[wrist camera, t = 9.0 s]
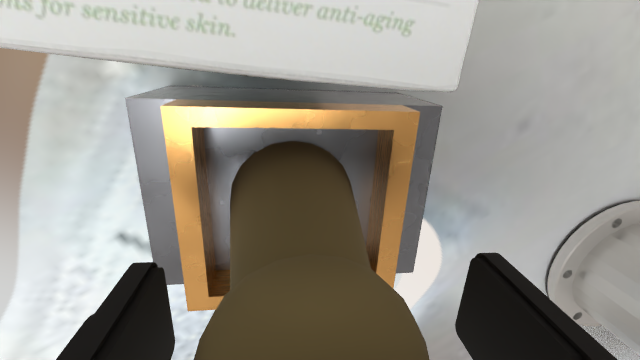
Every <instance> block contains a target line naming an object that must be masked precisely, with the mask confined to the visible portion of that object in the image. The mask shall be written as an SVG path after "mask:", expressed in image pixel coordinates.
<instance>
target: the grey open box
mask: <svg viewBox="0 0 640 360" xmlns="http://www.w3.org/2000/svg"><path fill="white" fill-rule="evenodd" d="M125 99H126V105H127V111H128V117H129V123H130V129H131V134H132V140H133V146H134V152H135V158H136V164H137V170H138V175H139V181H140V187H141V193H142V199H143V205H144V211H145V216H146V222H147V228H148V234H149V240H150V246H151V251H152V257H153V262H155V263H156V264H157V265H158V267H162V268H163V269H164V272H165V278H166V285H173V284H184V286H185V293H186V301H187V308H188V311H199V310H215V309H217V307H218V305H219V304H220V302H221V301H222V299H223V297H224V296H225V295H226V294H227V293H228V292H229V291H230V197H231V187H232V182H233V180H234V178H235V176H236V174H237V172H238V170H239V168H240V166H241V165H242V164H243V163H244V162H245V161H246V160H247V159H248V158H249V157H250V156H251V155H252V154H253V153H255V152H257V151H259V150H261V149H263V148H265V147H267V146H269V145H271V144H274V143H280V142H287V141H299V142H305V143H312V144H314V145H316V146H318V147H320V148H322V149H324V150H326V151H328V152H330V153H331V154H332V155H333V156H334V157H335V158H336V159H337V160H338V161H339V162H340V163H341V164H342V165H343V167H344V169H345V171H346V173H347V175H348V178H349V180H350V182H351V186H352V191H353V195H354V199H355V203H356V207H357V212H358V216H359V220H360V224H361V229H362V233H363V237H364V241H365V246H366V250H367V254H368V258H369V262H370V267H371V269H372V270H373V271H374V272H375V273H376V274H377V275H379V276H380V277H381V278H382V279H383V280H384V281H385V282H387V283H388V284H389V285H390V286H391V287H392V288H393V287H394V280H395V274H396V273H409V272H413V270H414V264H415V258H416V253H417V247H418V241H419V235H420V230H421V224H422V219H423V213H424V207H425V201H426V196H427V190H428V184H429V179H430V173H431V167H432V162H433V156H434V150H435V144H436V139H437V133H438V127H439V122H440V116H441V110H442V106H440V105H437V104H433V103H430V102H427V101H423V100H420V99H416V98H413V97H410V96H406V95H403V94H399V93H386V92H354V91H322V90H290V89H257V88H225V87H193V86H167V87H163V88H160V89H156V90H152V91H149V92H145V93H142V94H138V95H134V96H131V97H127V98H125Z"/></svg>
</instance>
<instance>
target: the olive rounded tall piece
mask: <svg viewBox="0 0 640 360" xmlns="http://www.w3.org/2000/svg"><path fill="white" fill-rule="evenodd" d="M194 360H429V355H428V351H427V347H426V342H425V340H424V338H423V336H422V334H421V332H420V329H419V327H418V325H417V323H416V321H415V319H414V317H413V315H412V313H411V312H410V310H409V308H408V306H407V304H406V303H405V301H404V299H403V298H402V297H401V296H400V295H399V294H398V293H397V292H396V291H395V290H394V289H393V288H392V287H391V286H390V285H389V284H388V283H387V282H385V281H384V280H383V279H382V278H381V277H380V276H379V275H377V274H376V273H375V272H374V271H373V270H372V269H371V267H370V262H369V258H368V254H367V250H366V246H365V241H364V237H363V233H362V229H361V224H360V220H359V216H358V212H357V207H356V203H355V199H354V195H353V191H352V186H351V182H350V180H349V178H348V175H347V173H346V171H345V169H344V167H343V165H342V164H341V163H340V162H339V161H338V160H337V159H336V158H335V157H334V156H333V155H332V154H331V153H330V152H328V151H326V150H324V149H322V148H320V147H318V146H316V145H314V144H312V143H305V142H299V141H287V142H280V143H274V144H271V145H269V146H267V147H265V148H263V149H261V150H259V151H257V152H255V153H253V154H252V155H251V156H250V157H249V158H248V159H247V160H246V161H245V162H244V163H243V164H242V165H241V166H240V168H239V170H238V172H237V174H236V176H235V178H234V180H233V182H232V187H231V197H230V291H229V292H228V293H227V294H226V295H225V296H224V297H223V299H222V301H221V302H220V304H219V305H218V307H217V309H216V310H215V312H214V314H213V316H212V317H211V319H210V321H209V323H208V325H207V327H206V329H205V330H204V332H203V334H202V336H201V338H200V340H199V344H198V347H197V351H196V354H195V358H194Z"/></svg>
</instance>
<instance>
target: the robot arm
mask: <svg viewBox="0 0 640 360" xmlns="http://www.w3.org/2000/svg"><path fill="white" fill-rule="evenodd" d="M547 286H548V295H549V298H548V297H547V296H546V295H545V294H544V293H542V292H541V291H540V290H539V289H538V288H537V287H536V286H535V285H533V284H532V283H531V282H530V281H529V280H528V279H527V278H526V277H525V276H523V275H522V274H521V273H520V272H519V271H518V270H517V269H516V268H515V267H513V266H512V265H511V264H510V263H509V262H508V261H507V260H506V259H504V258H503V257H502V256H501V255H500V254H498V253H479V254H477V255H476V256H475V258H473V259H472V260H471V262H470V266H469V270H468V274H467V278H466V282H465V286H464V290H463V294H462V299H461V303H460V307H459V311H458V315H457V319H456V324H455V327H456V332H457V335H458V337H459V338H460V340H461V341H462V343H463V344H464V346H465V348H466V349H467V351H468V352H469V354H470V355H471V357H472V359H473V360H617V359H616V358H615V357H614V356H613V355H612V354H610V353H609V352H608V351H607V350H606V349H605V348H604V347H603V346H602V345H600V344H599V343H598V342H597V341H596V340H595V339H594V338H593V337H591V336H590V335H589V334H588V333H587V332H586V331H585V330H584V329H583V328H581V327H580V326H579V325H583V326H603V327H604V328H606V329H607V330H608V331H609V332H610V333H612V334H613V335H614V336H615V337H617V338H618V339H619V340H620V341H621V342H623V343H624V344H625V345H626V346H627V347H629V348H630V349H631V350H632V351H634V352H635V353H636V354H637V355H638V356H640V201H633V202H628V203H623V204H620V205H617V206H615V207H612V208H610V209H607V210H605V211H603V212H602V213H600V214H598V215H596V216H594V217H593V218H591V219H590V220H589V221H587V222H586V223H584V224H583V225H582V226H581V227H580V228H579V229H577V230H576V231H575V232H574V233H573V234H572V235H571V236H570V237H569V239H568V240H567V241H566V242H565V243H564V245H563V246H562V247H561V249H560V250H559V252H558V254H557V255H556V257H555V259H554V261H553V264H552V266H551V268H550V272H549V277H548V282H547ZM578 324H579V325H578ZM174 346H175V337H174V330H173V324H172V317H171V311H170V304H169V298H168V291H167V285H166V278H165V272H164V269H163V268H162V267H158V265H157V264H156V263H155V262H147V263H133V264H131V265H130V267H129V268H128V269H127V271H126V272H125V273H124V275H123V276H122V278H121V279H120V280H119V282H118V283H117V284H116V286H115V287H114V288H113V290H112V291H111V292H110V294H109V295H108V296H107V298H106V299H105V300H104V302H103V303H102V304H101V306H100V307H99V309H98V310H97V311H96V313H95V314H93V315H91V316H90V317H89V318H88V319H87V320H86V321H85V322H84V323H83V325H82V326H81V327H80V329H79V330H78V331H77V333H76V334H75V335H74V336H73V338H72V339H71V340H70V342H69V343H68V344H67V346H66V347H65V348H64V350H63V351H62V352H61V354H60V355H59V356H58V358H57V359H56V360H171V357H172V354H173V351H174Z"/></svg>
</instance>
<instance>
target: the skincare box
mask: <svg viewBox="0 0 640 360" xmlns="http://www.w3.org/2000/svg"><path fill="white" fill-rule="evenodd" d="M478 2H479V0H0V48H8V49H16V50H25V51H33V52H41V53H49V54H58V55H66V56H74V57H83V58H91V59H100V60H108V61H117V62H126V63H134V64H143V65H152V66H160V67H170V68H179V69H188V70H197V71H207V72H216V73H225V74H235V75H244V76H254V77H264V78H274V79H283V80H293V81H305V82H317V83H330V84H343V85H354V86H364V87H375V88H386V89H397V90H413V91H432V92H452V91H455V90H456V89H457V87H458V85H459V80H460V75H461V70H462V66H463V62H464V58H465V53H466V49H467V45H468V41H469V37H470V33H471V29H472V25H473V21H474V18H475V14H476V10H477V6H478Z"/></svg>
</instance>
